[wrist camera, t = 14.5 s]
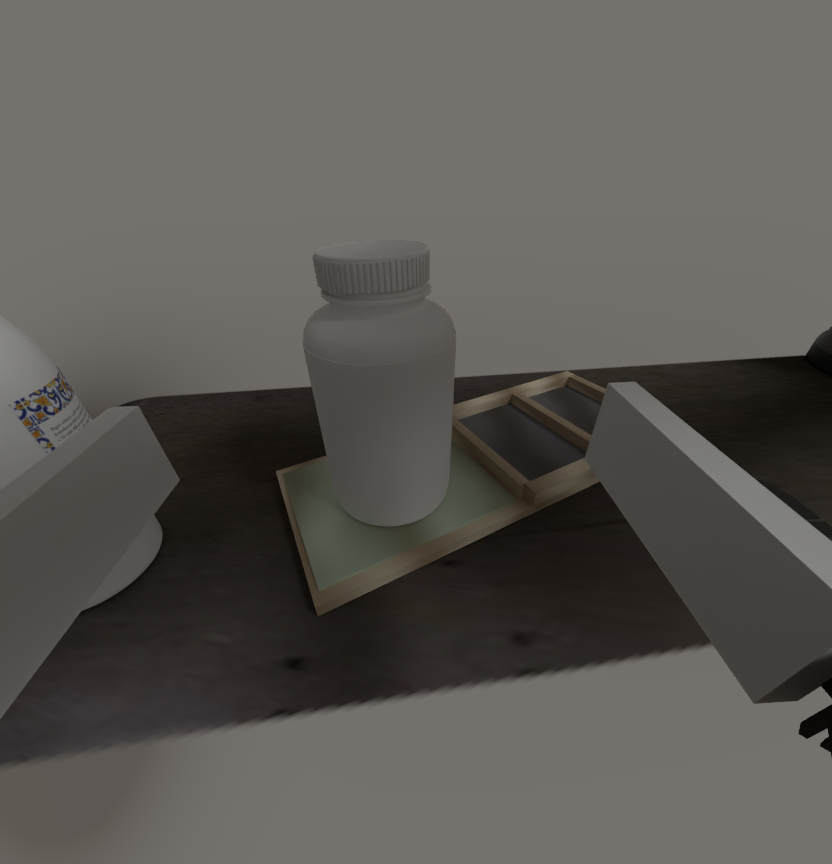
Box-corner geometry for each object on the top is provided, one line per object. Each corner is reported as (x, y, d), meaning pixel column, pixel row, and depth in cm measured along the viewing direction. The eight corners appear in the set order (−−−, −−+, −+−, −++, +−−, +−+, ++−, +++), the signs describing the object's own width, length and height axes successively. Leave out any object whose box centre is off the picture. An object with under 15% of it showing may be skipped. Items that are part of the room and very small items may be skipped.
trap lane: (562, 388, 38) (567, 371, 37) (674, 445, 29) (683, 425, 28) (278, 479, 27) (271, 458, 26) (318, 616, 18) (310, 594, 17)
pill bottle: (345, 547, 20) (283, 267, 12) (329, 464, 27) (280, 242, 18) (469, 512, 22) (492, 250, 14) (426, 442, 29) (424, 233, 20)
